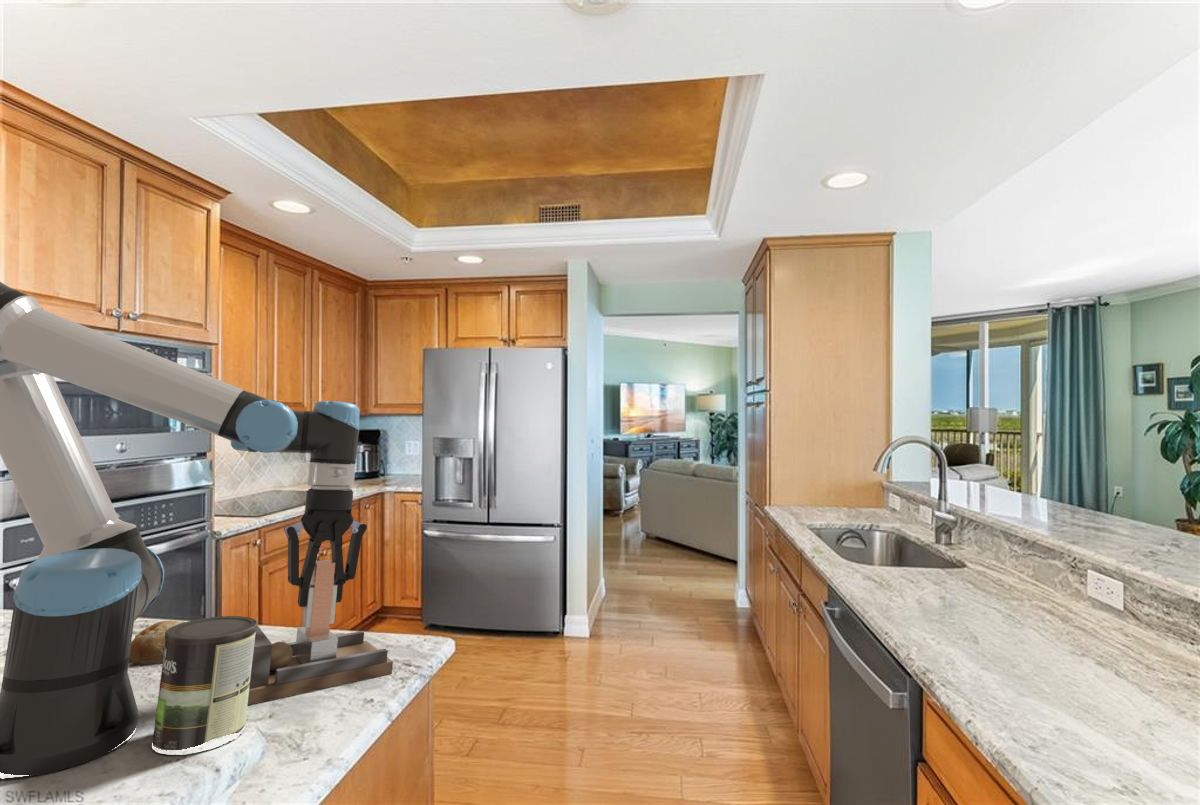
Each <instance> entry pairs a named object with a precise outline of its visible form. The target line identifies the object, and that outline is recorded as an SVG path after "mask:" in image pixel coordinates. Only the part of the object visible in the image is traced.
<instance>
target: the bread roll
mask: <svg viewBox="0 0 1200 805" xmlns="http://www.w3.org/2000/svg"><path fill="white" fill-rule="evenodd" d="M184 622H185V621H177V620H163V621H160V622H159V621H158V622H156V623H154V624H152V625H149V626H148V627H146V628H145V629H143V630H141V631H140V632H138V633H137V634H136V635H134V639H132V640H131V648H130V655H129V661H130V662H131V663H134V664H135V665H140V664H141V665H142V664H143V665H157V664H158V665H159V664H163V658H164V649H165V641H166V639H165V632H166V631H167V630H168V629H169V628H171V627H173V626H175V625H178V624H181V623H184Z"/></svg>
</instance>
